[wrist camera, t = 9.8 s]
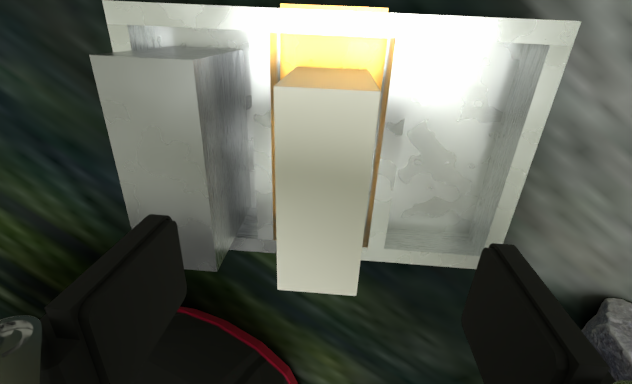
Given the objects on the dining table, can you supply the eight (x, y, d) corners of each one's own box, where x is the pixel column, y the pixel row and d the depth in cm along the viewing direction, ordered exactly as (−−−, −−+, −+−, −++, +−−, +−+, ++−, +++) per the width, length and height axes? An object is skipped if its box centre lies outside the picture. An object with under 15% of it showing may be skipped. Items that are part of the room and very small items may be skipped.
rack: (546, 17, 17) (673, 12, 11) (476, 242, 24) (529, 328, 17) (136, -1, 18) (17, -16, 12) (174, 220, 25) (111, 291, 18)
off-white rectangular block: (368, 70, 19) (380, 91, 12) (352, 222, 23) (356, 296, 17) (296, 66, 19) (273, 86, 13) (295, 218, 23) (277, 289, 17)
